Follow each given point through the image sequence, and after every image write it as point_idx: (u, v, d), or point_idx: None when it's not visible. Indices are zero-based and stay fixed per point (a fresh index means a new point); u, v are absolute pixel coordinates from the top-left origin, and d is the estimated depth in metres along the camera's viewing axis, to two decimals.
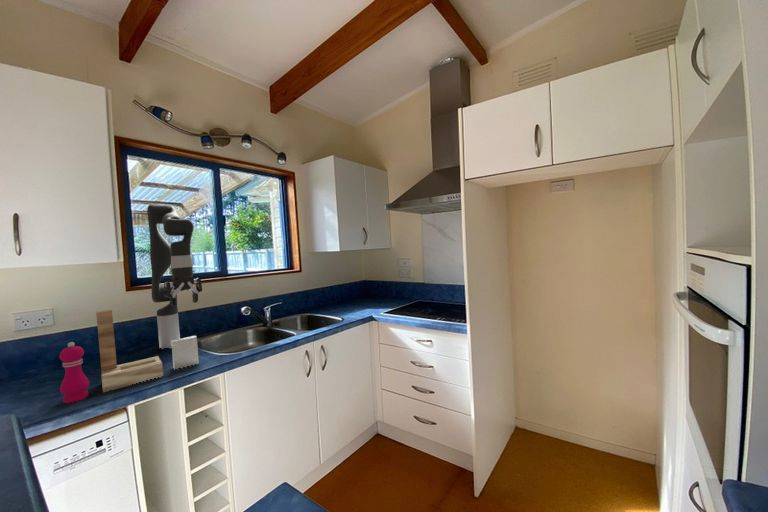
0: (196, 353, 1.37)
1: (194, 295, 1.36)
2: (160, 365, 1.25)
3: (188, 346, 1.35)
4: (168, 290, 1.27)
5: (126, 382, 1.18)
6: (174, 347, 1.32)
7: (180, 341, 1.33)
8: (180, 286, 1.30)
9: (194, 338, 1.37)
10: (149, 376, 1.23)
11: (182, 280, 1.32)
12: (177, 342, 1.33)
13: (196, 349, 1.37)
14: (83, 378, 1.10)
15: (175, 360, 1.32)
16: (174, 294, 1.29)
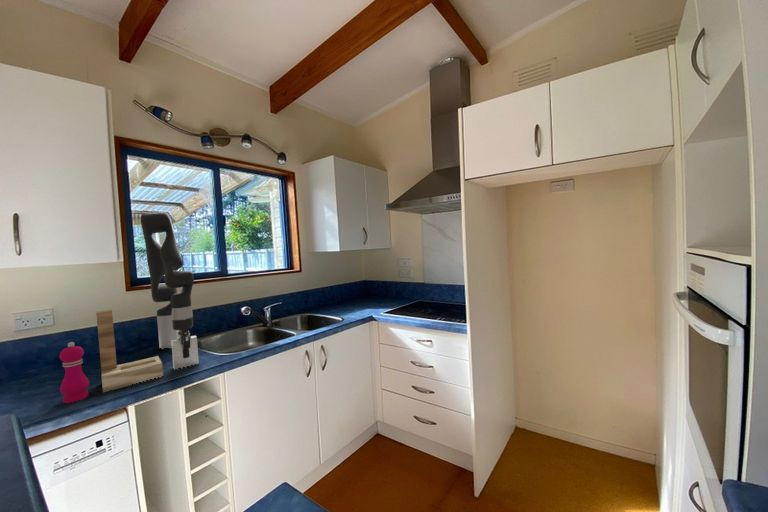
0: (196, 353, 1.37)
1: None
2: (160, 365, 1.25)
3: None
4: None
5: (126, 382, 1.18)
6: (174, 347, 1.32)
7: None
8: (189, 336, 1.36)
9: (194, 338, 1.37)
10: (149, 376, 1.23)
11: None
12: (177, 342, 1.33)
13: (196, 349, 1.37)
14: (83, 378, 1.10)
15: (175, 360, 1.32)
16: None
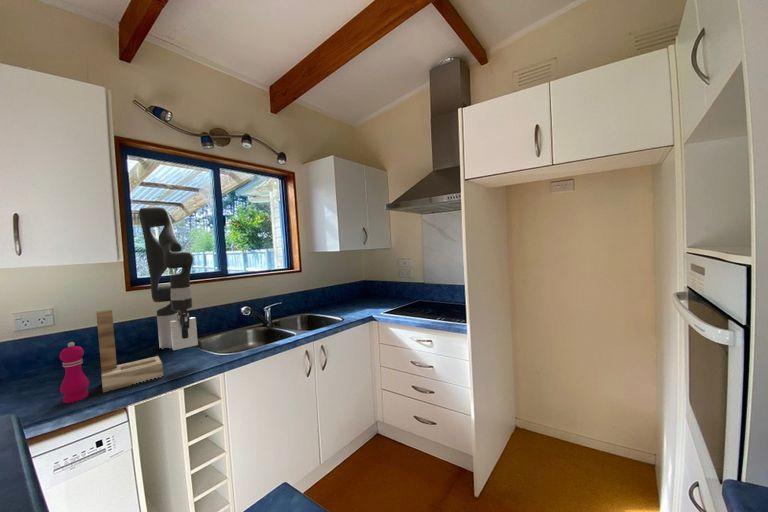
0: (195, 334, 1.37)
1: None
2: (160, 365, 1.25)
3: None
4: None
5: (126, 382, 1.18)
6: (173, 327, 1.32)
7: None
8: None
9: (193, 319, 1.37)
10: (149, 376, 1.23)
11: None
12: (176, 322, 1.33)
13: (195, 330, 1.37)
14: (83, 378, 1.10)
15: (174, 340, 1.32)
16: None
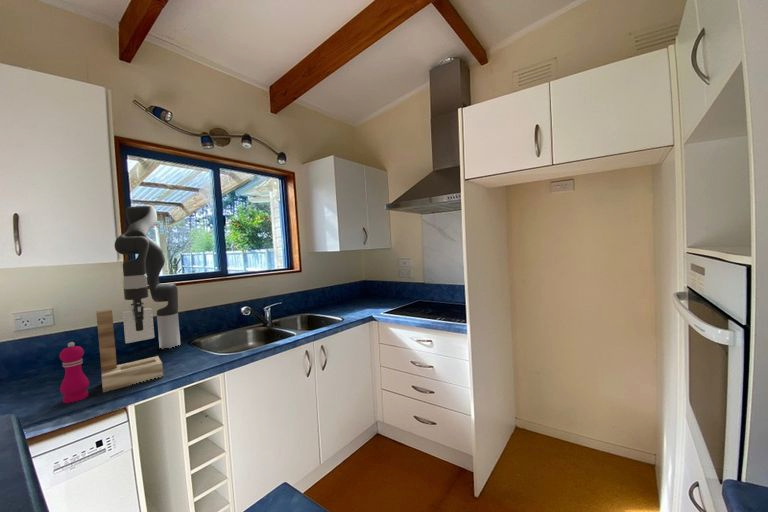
0: (151, 326, 1.27)
1: None
2: (160, 365, 1.25)
3: None
4: None
5: (126, 382, 1.18)
6: (125, 318, 1.21)
7: None
8: (143, 307, 1.25)
9: (149, 310, 1.26)
10: (149, 376, 1.23)
11: None
12: (129, 313, 1.22)
13: (151, 322, 1.27)
14: (83, 378, 1.10)
15: (127, 333, 1.21)
16: (142, 317, 1.24)
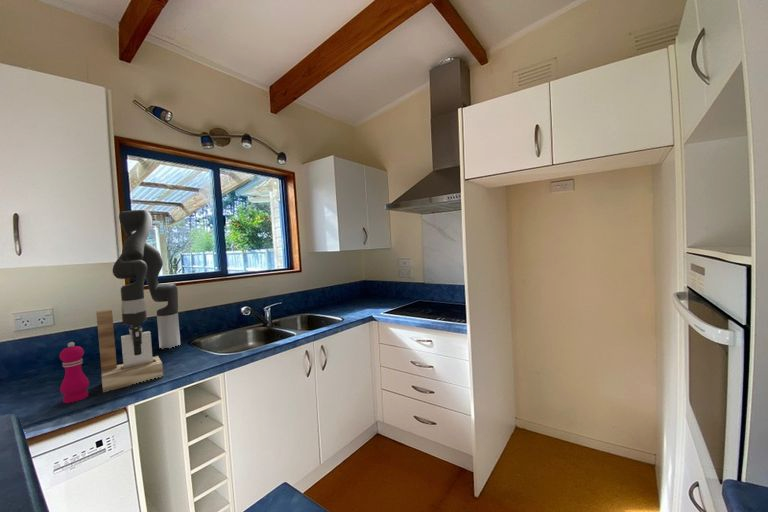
0: (150, 350, 1.26)
1: None
2: (160, 365, 1.25)
3: None
4: (141, 338, 1.22)
5: (126, 382, 1.18)
6: (124, 343, 1.21)
7: None
8: (141, 331, 1.25)
9: (147, 333, 1.26)
10: (149, 376, 1.23)
11: None
12: (127, 338, 1.22)
13: (150, 345, 1.26)
14: (83, 378, 1.10)
15: (125, 357, 1.21)
16: None
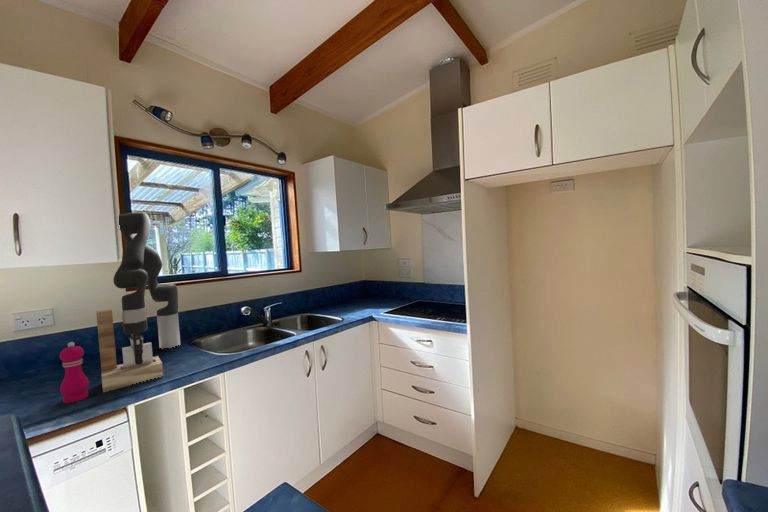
0: (151, 361, 1.27)
1: None
2: (160, 365, 1.25)
3: None
4: (142, 347, 1.21)
5: (126, 382, 1.18)
6: (125, 355, 1.21)
7: None
8: (142, 340, 1.24)
9: (148, 345, 1.26)
10: (149, 376, 1.23)
11: None
12: (128, 350, 1.22)
13: (151, 357, 1.27)
14: (83, 378, 1.10)
15: None
16: None
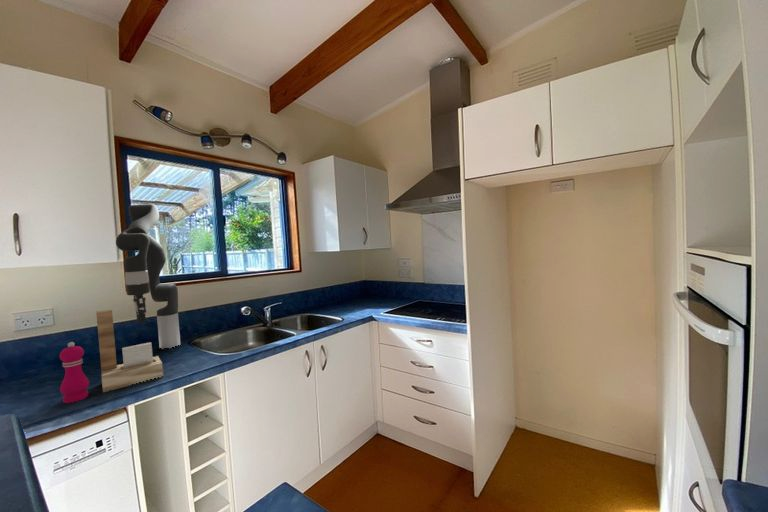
0: (151, 361, 1.27)
1: None
2: (160, 365, 1.25)
3: (141, 353, 1.25)
4: (145, 306, 1.24)
5: (126, 382, 1.18)
6: (125, 355, 1.21)
7: (132, 348, 1.23)
8: (145, 302, 1.28)
9: (148, 345, 1.26)
10: (149, 376, 1.23)
11: None
12: (128, 350, 1.22)
13: (151, 357, 1.27)
14: (83, 378, 1.10)
15: None
16: None
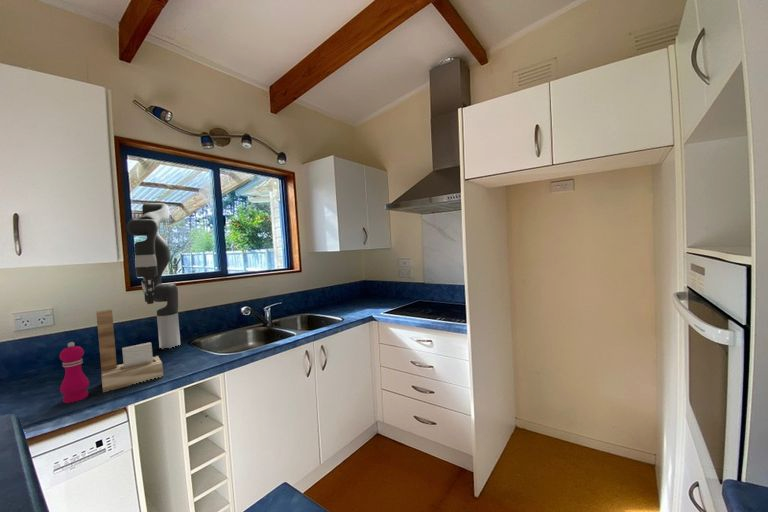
0: (151, 361, 1.27)
1: None
2: (160, 365, 1.25)
3: (141, 353, 1.25)
4: (153, 287, 1.32)
5: (126, 382, 1.18)
6: (125, 355, 1.21)
7: (132, 348, 1.23)
8: (153, 284, 1.36)
9: (148, 345, 1.26)
10: (149, 376, 1.23)
11: None
12: (128, 350, 1.22)
13: (151, 357, 1.27)
14: (83, 378, 1.10)
15: None
16: None
